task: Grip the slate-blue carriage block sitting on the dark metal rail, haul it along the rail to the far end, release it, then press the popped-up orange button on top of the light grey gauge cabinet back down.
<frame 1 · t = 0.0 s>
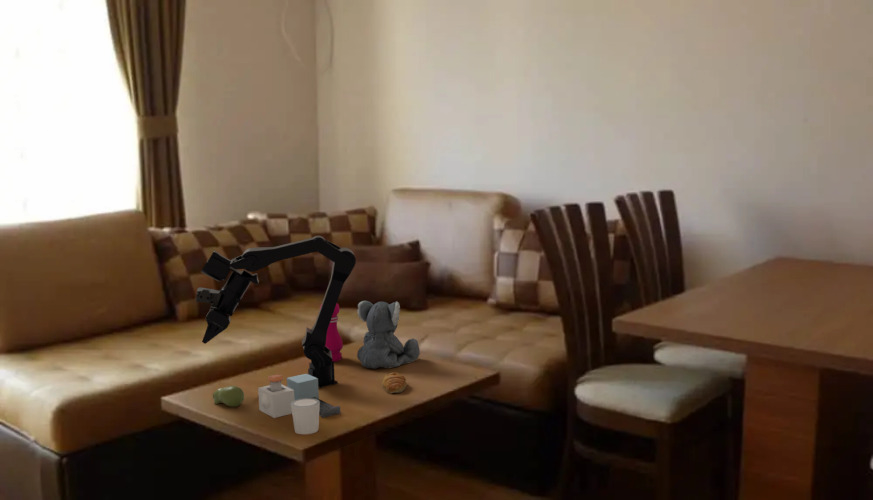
hand: (205, 338, 245), 15 cm above the table, tool tilted 35°, fingers open, 9 cm apart
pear: (228, 405, 236), on the table
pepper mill: (331, 359, 277), on the table
shot glass: (306, 431, 215), on the table
rail: (311, 405, 233), on the table
gauge cabinet: (277, 411, 229), on the table
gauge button: (275, 387, 228), point 6 cm above the table, slide at 0.0 cm
koala plush: (383, 363, 272), on the table
carriage: (302, 389, 236), point 3 cm above the table, slide at 0.0 cm
pastry: (395, 389, 246), on the table
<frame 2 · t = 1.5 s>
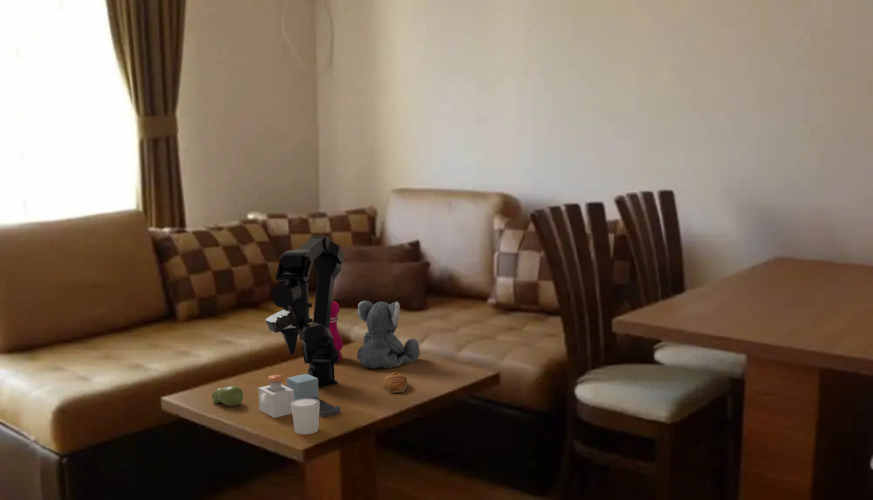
hand: (300, 357, 234), 12 cm above the table, tool pointing down, fingers open, 9 cm apart
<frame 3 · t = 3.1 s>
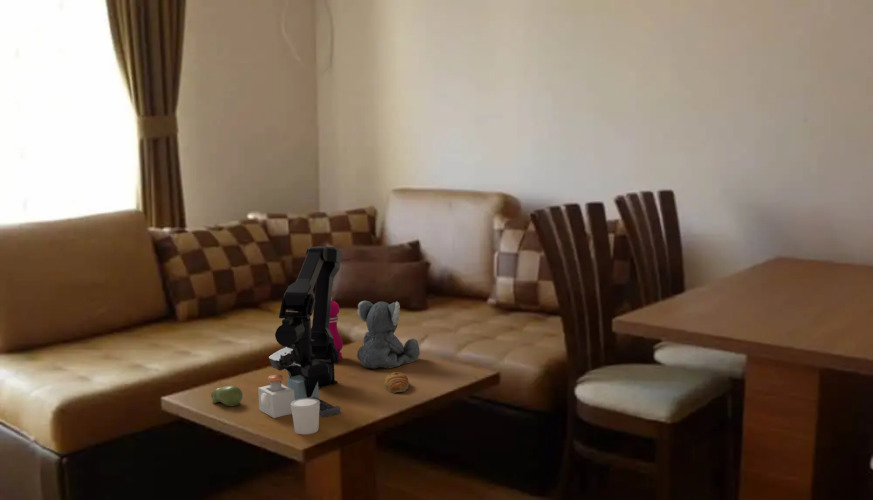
hand: (302, 394, 236), 2 cm above the table, tool pointing down, fingers closed on carriage, 6 cm apart
carriage: (302, 389, 236), point 3 cm above the table, slide at 0.0 cm, touching gripper
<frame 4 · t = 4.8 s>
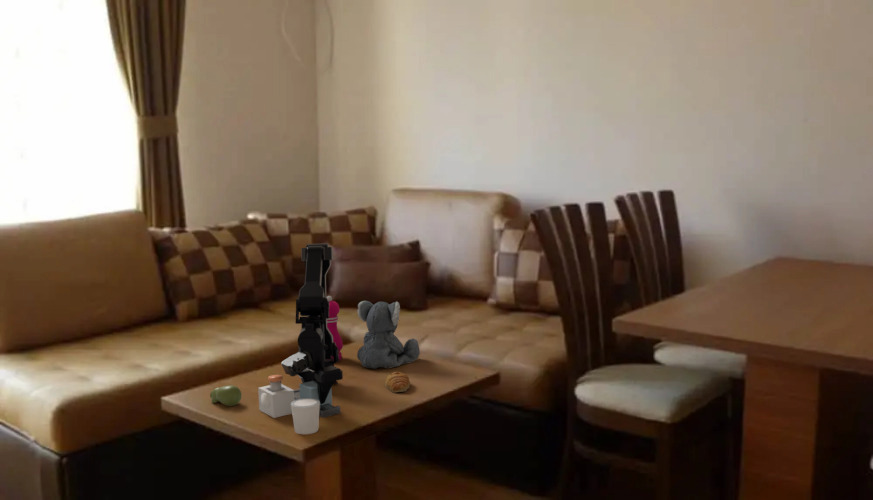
hand: (316, 400, 231), 2 cm above the table, tool pointing down, fingers closed on carriage, 6 cm apart
carriage: (315, 395, 230), point 3 cm above the table, slide at 6.9 cm, touching gripper
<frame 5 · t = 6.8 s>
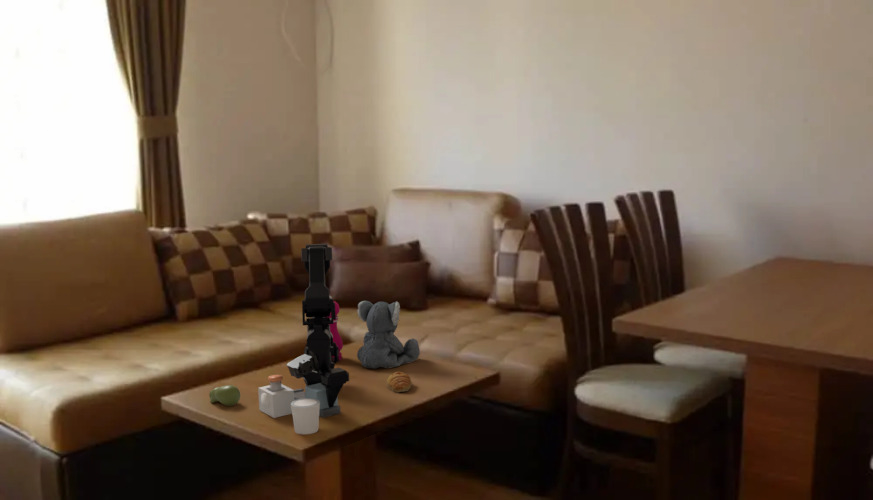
hand: (321, 402, 228), 2 cm above the table, tool pointing down, fingers open, 9 cm apart
carriage: (321, 398, 228), point 3 cm above the table, slide at 9.8 cm
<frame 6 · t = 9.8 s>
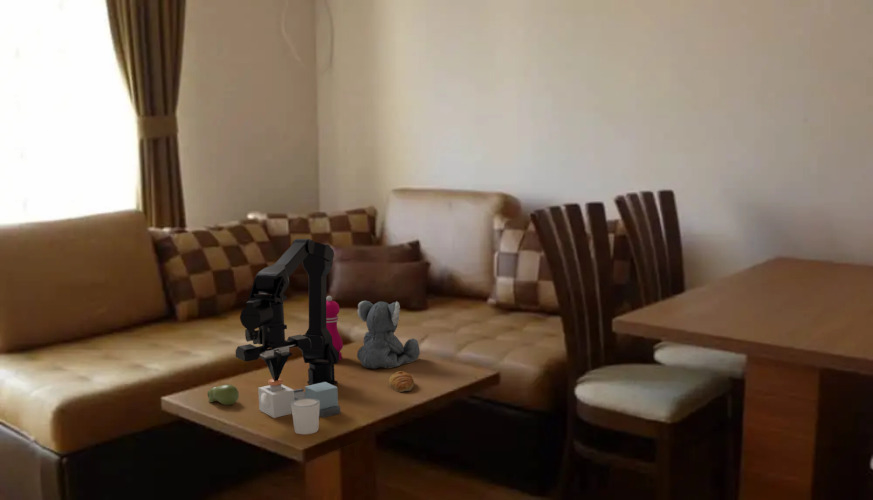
hand: (275, 380, 228), 8 cm above the table, tool pointing down, fingers closed, pressing on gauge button
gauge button: (276, 391, 228), point 5 cm above the table, slide at 1.0 cm, touching gripper
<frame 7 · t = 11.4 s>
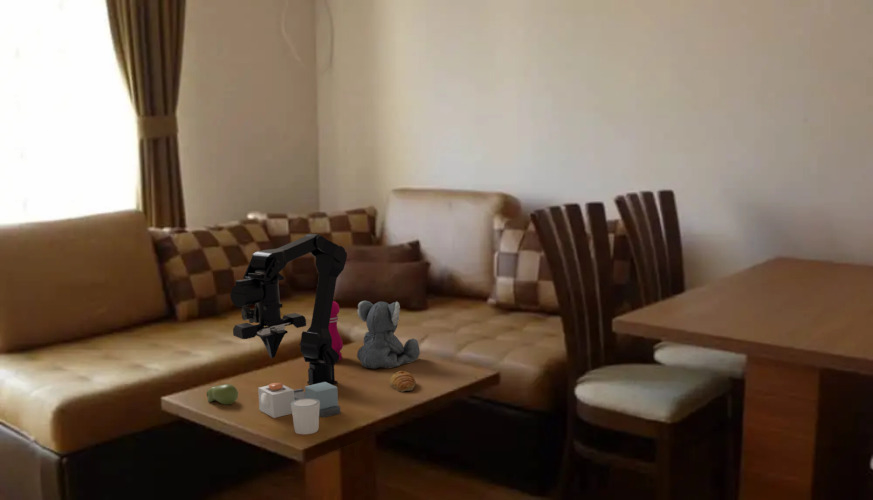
hand: (272, 357, 235), 12 cm above the table, tool pointing down, fingers closed
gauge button: (276, 395, 228), point 4 cm above the table, slide at 2.1 cm
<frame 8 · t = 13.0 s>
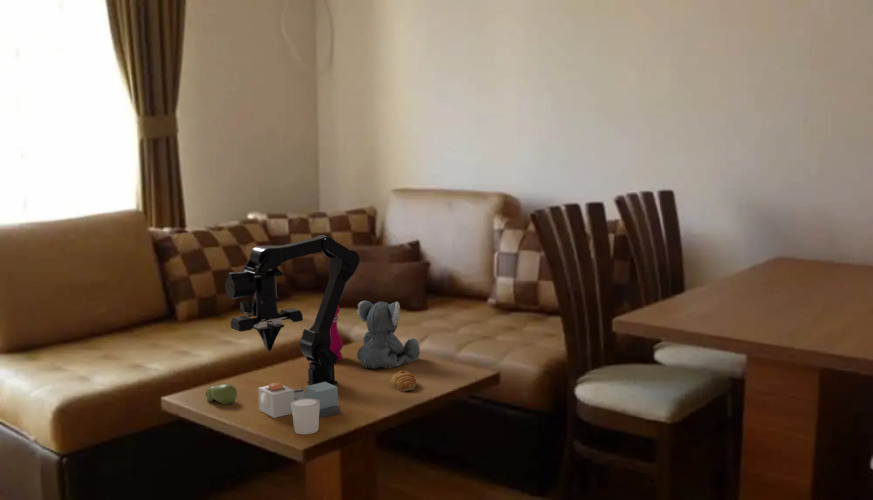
hand: (268, 350, 240), 13 cm above the table, tool pointing down, fingers closed
at the end: carriage slide at 9.8 cm; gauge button slide at 2.1 cm; the gripper is holding nothing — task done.
